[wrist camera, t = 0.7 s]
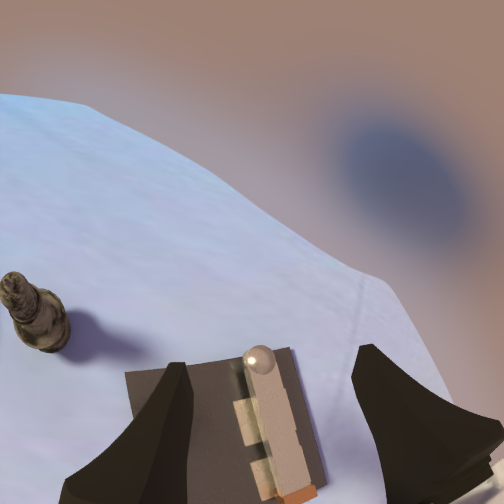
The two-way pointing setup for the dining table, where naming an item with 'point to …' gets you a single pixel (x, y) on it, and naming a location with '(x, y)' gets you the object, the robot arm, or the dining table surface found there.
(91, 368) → the dining table surface
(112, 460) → the robot arm
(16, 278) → the grey tall carved piece
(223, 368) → the label panel
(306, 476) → the swing arm
